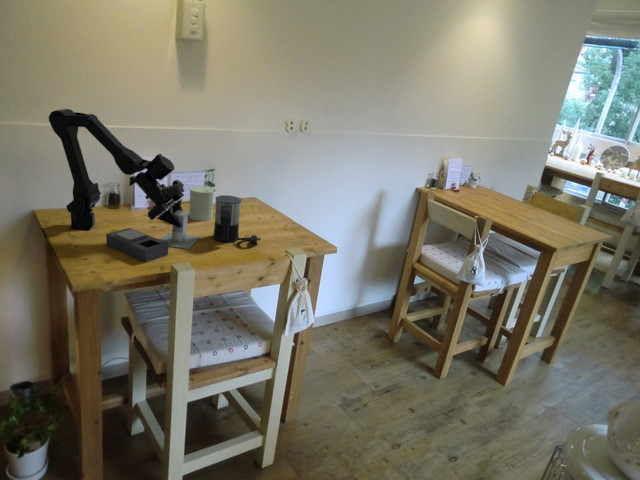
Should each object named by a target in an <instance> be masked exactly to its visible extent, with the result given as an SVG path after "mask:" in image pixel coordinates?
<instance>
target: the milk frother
mask: <svg viewBox="0 0 640 480" xmlns="http://www.w3.org/2000/svg"><path fill="white" fill-rule="evenodd" d="M214 198H215V211H214V214H215V215H214V229H213V235H212V238H213V239H214V240H216V241H219V242H224V243H232V242H237V241H251V243H257V242H258V241H261V239H262V238H261V237H258V236H257V235H254V234H252V235H251V236H250V237H246V236H245V237H240V236H239V228H240V227H239V226H240V216H241V215H240V214H241V203H242V199H241V197H239V196H234V195H225V194H224V195H218V196H215V197H214Z"/></svg>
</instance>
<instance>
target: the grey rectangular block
mask: <svg viewBox="0 0 640 480" xmlns="http://www.w3.org/2000/svg"><path fill="white" fill-rule="evenodd" d="M182 210H183V209H182ZM182 210H177V211H176V212H175V213H174V215H175V217H176V218H177V219H178V221H179V222H180V224H181V227H180V228H178V227H176V226H174V225H172V232H171V233H172V242H177V243H183V242H184V241H185V239H186V235H187V233H188V221H189V220H188V219H189V211H186V210H183V211H182ZM187 236H188V235H187Z"/></svg>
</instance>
